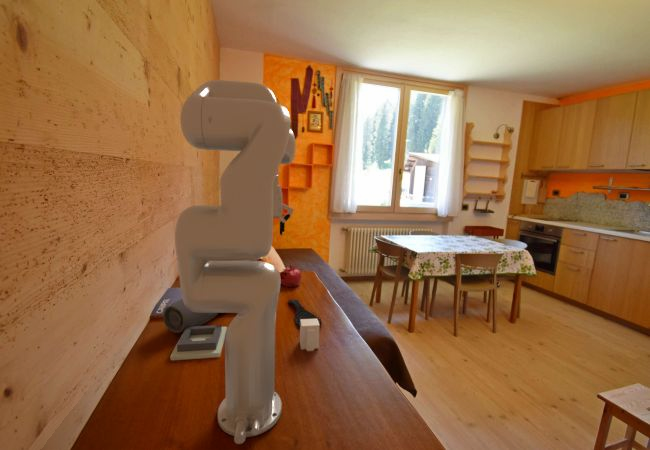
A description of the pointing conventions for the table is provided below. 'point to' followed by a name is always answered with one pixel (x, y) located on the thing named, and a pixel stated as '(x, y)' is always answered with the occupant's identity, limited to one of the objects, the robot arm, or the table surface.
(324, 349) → the table surface
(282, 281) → the pomegranate
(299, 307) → the hairbrush
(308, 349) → the keyed plug
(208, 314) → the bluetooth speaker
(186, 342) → the socket board
